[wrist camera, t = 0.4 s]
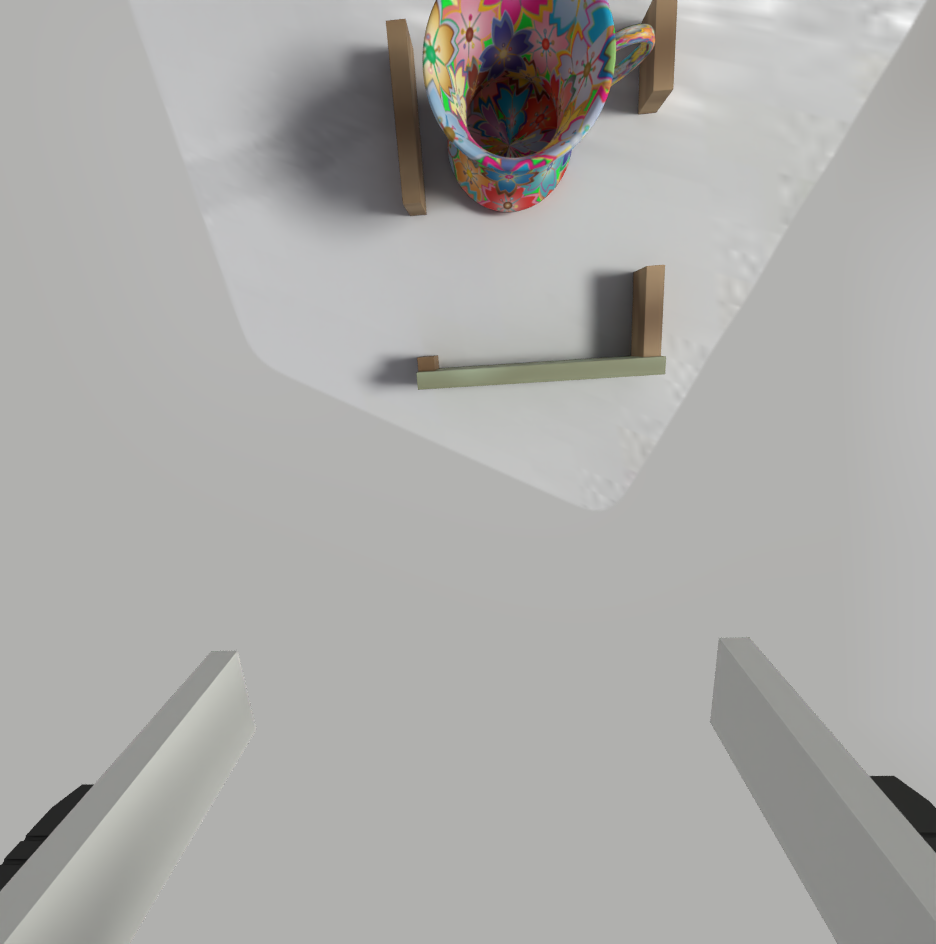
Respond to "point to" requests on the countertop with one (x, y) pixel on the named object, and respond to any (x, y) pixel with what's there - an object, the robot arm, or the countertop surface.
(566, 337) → the countertop surface
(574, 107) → the mug
